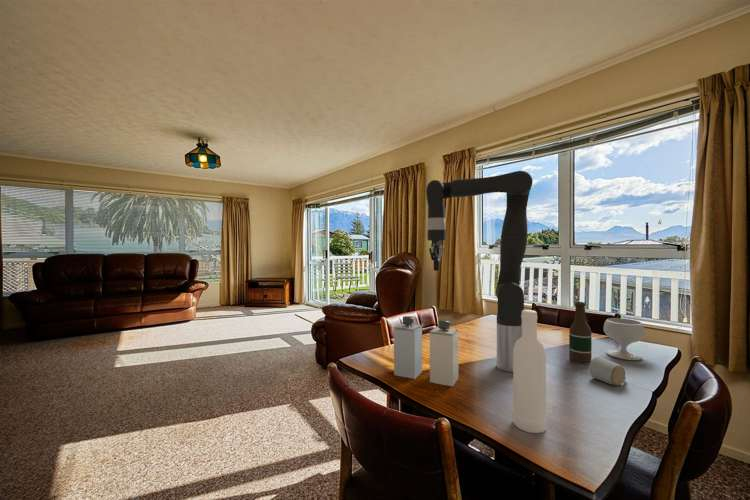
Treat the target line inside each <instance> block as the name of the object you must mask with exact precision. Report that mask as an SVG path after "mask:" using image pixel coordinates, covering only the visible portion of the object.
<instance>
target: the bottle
mask: <svg viewBox="0 0 750 500" xmlns="http://www.w3.org/2000/svg"><path fill="white" fill-rule="evenodd" d="M521 318H522V337H521V338H519V339H518V340H517V341H516V343H515V345H514V349H513V372H512V374H513V375H512V385H513V386H512V392H513V393H512V396H513V397H512V399H513V403H512V418H513V420H512V421H513V422H512V423H513V424H514V426H516V427H517V428H518V429H519V430H522V431H523V432H526V433H530V434H540V433H541V434H542V433H544V432H545V431H546V430H547V351H546V349H545V348H546V347H545V346H544V344H543V342H542V341H540V340H539V339H538V312H537V311H536V310H531V309H524V310H523V311H522V315H521Z"/></svg>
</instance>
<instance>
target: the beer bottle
mask: <svg viewBox="0 0 750 500" xmlns="http://www.w3.org/2000/svg"><path fill="white" fill-rule="evenodd" d="M574 305H575V311H574V312H575V313H574V320H573V322H572V323H571V325H570V326H569V333H568V335H569V336H568V337H569V338H568V339H569V340H568V343H569V344H568V345H569V346H568V347H569V349H568V352H569V353H568V354H569V355H568V357H569V360H570V361H571V362H573V363H576V364H580V365H590V362H591V361H592V353H593V351H592V350H593V349H592V341H593V339H592V336H593V335H592V330H591V327H590V325H589V324H588V322H587V318H586V302H583V301H576V302H575V303H574Z"/></svg>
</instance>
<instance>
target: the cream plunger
mask: <svg viewBox="0 0 750 500" xmlns="http://www.w3.org/2000/svg"><path fill="white" fill-rule="evenodd" d="M437 323H438V324H437V327H438V328H440V329H442V331H444V332H446V329H450V328H451V320H448V319H438V321H437Z"/></svg>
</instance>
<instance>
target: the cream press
mask: <svg viewBox="0 0 750 500" xmlns="http://www.w3.org/2000/svg"><path fill="white" fill-rule="evenodd" d="M458 379H459V328H452V327H450V329H446V332H444V331H442V329H440V328H438V326H435V327H434V328H432V329H431V330H430V331H429V383H433V384H437V385H438V384H439V385H442V386H443V385H444V386H447V387H448V386H449V387H452V388H453V387H454V386H455V384H456V382H457V380H458Z"/></svg>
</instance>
